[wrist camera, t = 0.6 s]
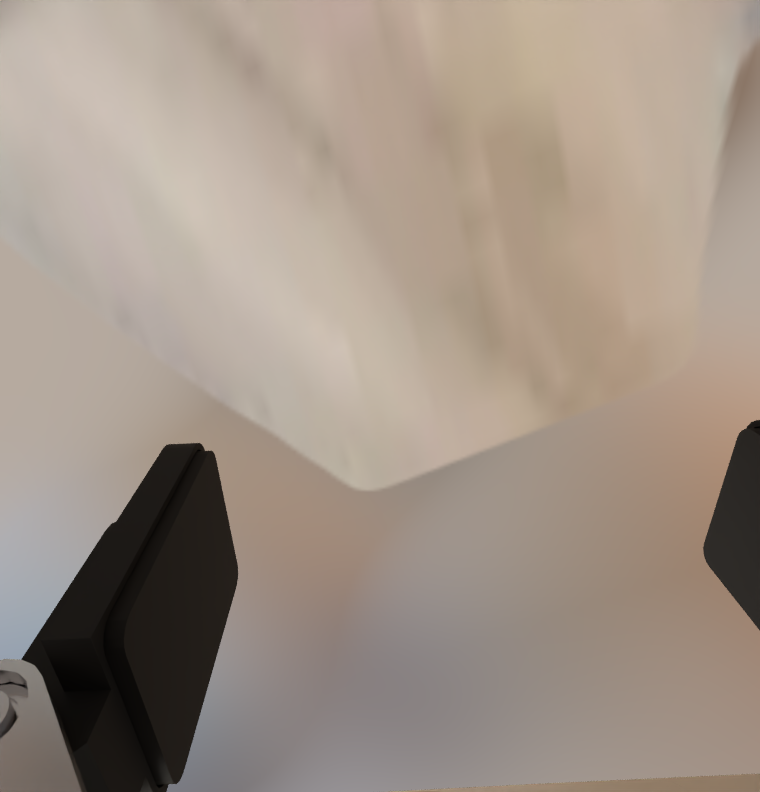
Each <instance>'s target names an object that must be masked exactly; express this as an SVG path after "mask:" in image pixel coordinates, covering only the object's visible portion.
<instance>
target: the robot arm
mask: <svg viewBox="0 0 760 792" xmlns="http://www.w3.org/2000/svg"><path fill="white" fill-rule="evenodd" d="M703 549H704V556H705V559H706V562H707V563H708V565H709V567H710V568H711V569H712V570H713V571H714V573H715V574H716V576H717V577H718V578H719V579H720V580H721V582H722V583H723V584H724V586H725V587H726V588H727V589H728V591H729V592H730V593H731V594H732V596H733V597H734V598H735V600H736V601H737V602H738V603H739V604H740V606H741V607H742V608H743V610H744V611H745V612H746V613H747V615H748V616H749V617H750V618H751V620H752V621H753V622H754V624H755V625H756V626H757V627H758V629H759V630H760V420H756V421H754V422H751V423H750V424H749V425H748V426H747V428H746V429H744V430H742V431H741V432H740V433H739V435H738V438H737V441H736V444H735V447H734V450H733V453H732V456H731V460H730V463H729V466H728V469H727V472H726V476H725V479H724V482H723V485H722V488H721V491H720V495H719V498H718V501H717V504H716V508H715V510H714V514H713V517H712V520H711V523H710V527H709V530H708V533H707V536H706V539H705V542H704V547H703ZM237 579H238V565H237V560H236V555H235V550H234V546H233V541H232V536H231V531H230V526H229V521H228V516H227V511H226V506H225V502H224V496H223V491H222V486H221V481H220V477H219V472H218V467H217V462H216V458H215V454H214V453H213V451H205V450H204V447H203V446H202V444H200V443H191V444H169V445H166V446H165V447H164V448H163V450H162V451H161V453H160V454H159V456H158V457H157V459H156V461H155V462H154V464H153V465H152V467H151V468H150V470H149V471H148V473H147V475H146V476H145V478H144V479H143V481H142V483H141V484H140V486H139V487H138V489H137V490H136V492H135V493H134V495H133V496H132V498H131V500H130V501H129V503H128V504H127V506H126V507H125V509H124V510H123V512H122V514H121V515H120V517H119V518H118V520H117V521H116V522H115V523H112V524H111V525H110V526H109V527H108V528H107V530H106V531H105V532H104V534H103V535H102V537H101V539H100V540H99V542H98V543H97V545H96V546H95V548H94V549H93V551H92V552H91V554H90V555H89V557H88V559H87V560H86V562H85V563H84V565H83V566H82V568H81V569H80V571H79V572H78V574H77V575H76V577H75V578H74V580H73V581H72V583H71V584H70V586H69V588H68V589H67V591H66V592H65V594H64V595H63V597H62V598H61V600H60V601H59V603H58V604H57V606H56V608H55V609H54V610H53V612H52V613H51V615H50V617H49V618H48V620H47V621H46V623H45V624H44V626H43V627H42V629H41V630H40V632H39V633H38V635H37V637H36V638H35V639H34V641H33V643H32V644H31V646H30V647H29V649H28V650H27V652H26V653H25V655H24V656H23V658H22V659H21V660H15V659H3V660H0V792H166V791H167V788H168V784H177V783H178V782H179V781H180V779H181V777H182V774H183V772H184V769H185V765H186V762H187V758H188V755H189V751H190V747H191V744H192V740H193V737H194V733H195V730H196V726H197V723H198V719H199V716H200V712H201V709H202V705H203V702H204V698H205V695H206V691H207V687H208V684H209V681H210V677H211V674H212V670H213V667H214V663H215V660H216V656H217V653H218V649H219V646H220V642H221V639H222V635H223V632H224V628H225V625H226V621H227V617H228V614H229V610H230V607H231V604H232V600H233V597H234V593H235V589H236V586H237ZM391 792H760V774H741V775H719V776H700V777H699V776H697V777H674V778H653V779H632V780H610V781H590V782H589V781H588V782H568V783H547V784H526V785H506V786H489V787H469V788H468V787H467V788H448V789H430V790H410V791H391Z"/></svg>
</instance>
